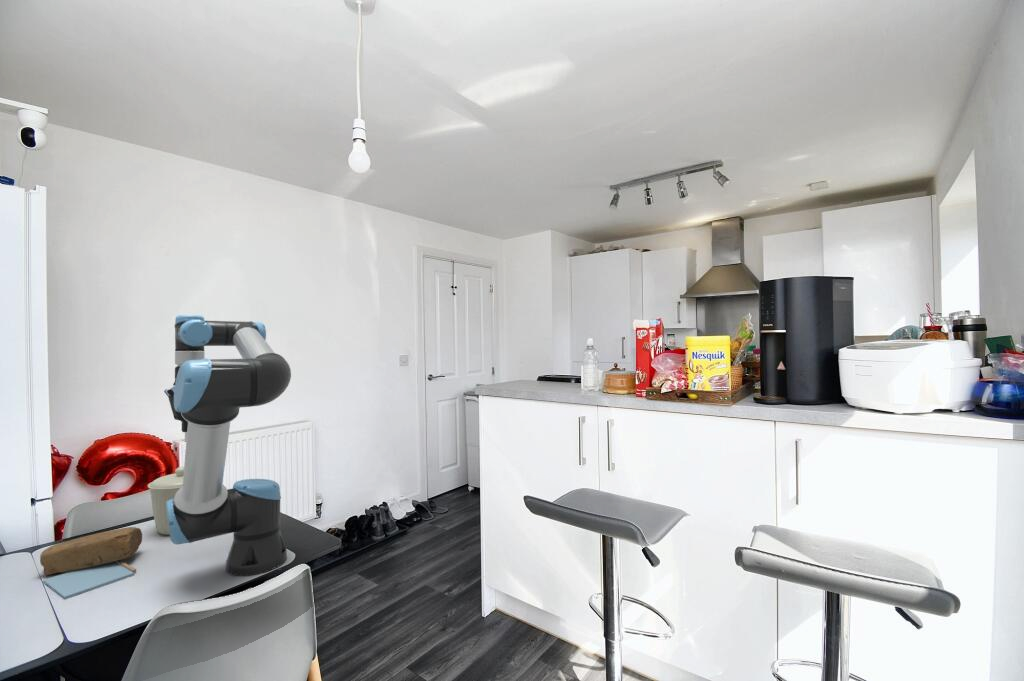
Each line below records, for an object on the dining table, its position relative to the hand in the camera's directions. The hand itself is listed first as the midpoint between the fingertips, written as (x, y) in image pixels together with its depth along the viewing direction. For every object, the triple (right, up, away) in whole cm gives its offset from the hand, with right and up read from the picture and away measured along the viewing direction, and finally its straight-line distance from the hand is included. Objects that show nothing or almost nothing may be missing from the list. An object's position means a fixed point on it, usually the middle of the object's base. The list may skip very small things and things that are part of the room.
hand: (189, 442), depth 143 cm
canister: (-13, -33, +14) cm, 38 cm away
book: (-13, -32, -19) cm, 40 cm away
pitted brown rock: (-10, -27, -7) cm, 30 cm away
